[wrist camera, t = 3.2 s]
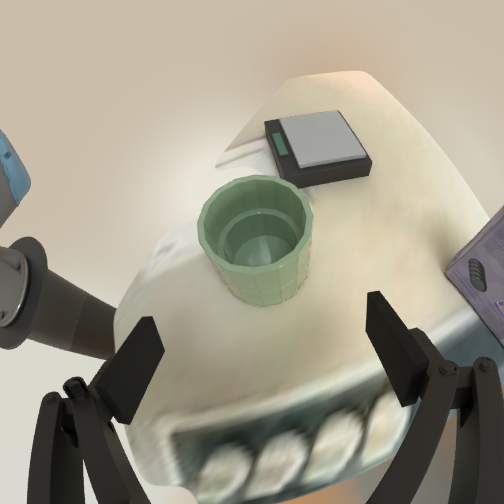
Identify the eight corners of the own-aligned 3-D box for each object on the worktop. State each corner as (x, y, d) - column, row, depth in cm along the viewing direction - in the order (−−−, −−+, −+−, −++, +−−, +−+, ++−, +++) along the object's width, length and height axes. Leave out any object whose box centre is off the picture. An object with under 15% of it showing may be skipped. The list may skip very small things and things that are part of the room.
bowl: (214, 298, 33) (182, 262, 23) (235, 225, 37) (216, 171, 28) (300, 314, 30) (303, 282, 21) (312, 235, 35) (317, 180, 25)
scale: (285, 191, 38) (284, 173, 35) (266, 134, 44) (263, 117, 41) (369, 175, 38) (373, 158, 34) (337, 123, 44) (338, 106, 40)
